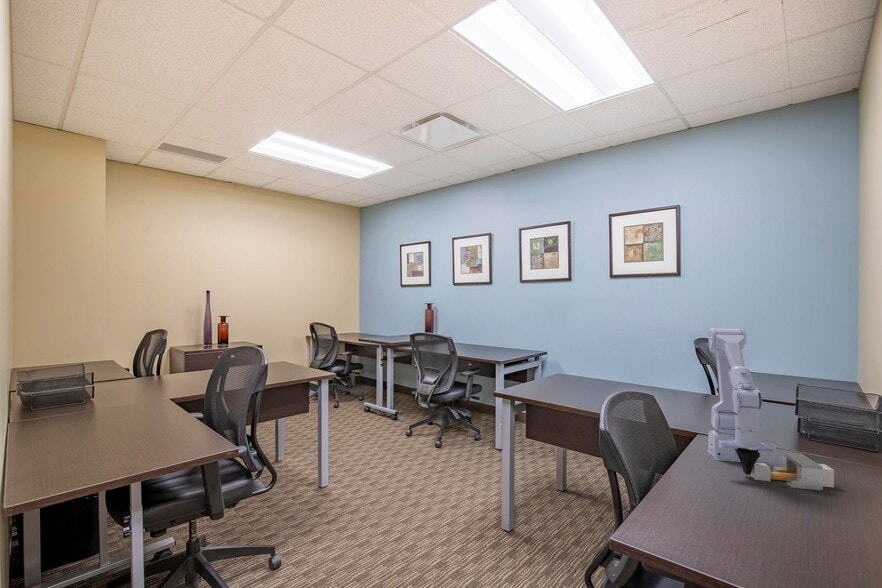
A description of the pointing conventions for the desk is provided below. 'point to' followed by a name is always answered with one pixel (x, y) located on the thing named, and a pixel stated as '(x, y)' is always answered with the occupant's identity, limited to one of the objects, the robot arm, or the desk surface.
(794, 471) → the housing
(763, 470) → the plug
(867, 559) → the desk surface
